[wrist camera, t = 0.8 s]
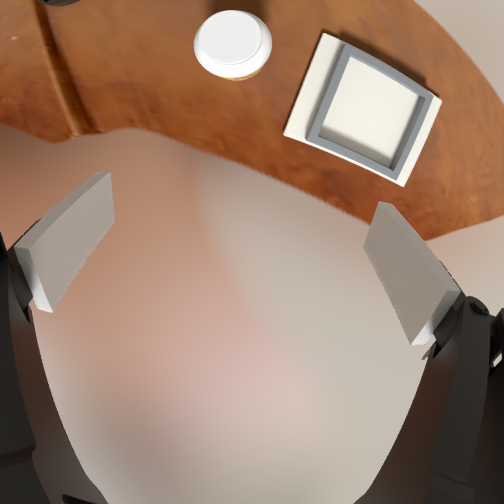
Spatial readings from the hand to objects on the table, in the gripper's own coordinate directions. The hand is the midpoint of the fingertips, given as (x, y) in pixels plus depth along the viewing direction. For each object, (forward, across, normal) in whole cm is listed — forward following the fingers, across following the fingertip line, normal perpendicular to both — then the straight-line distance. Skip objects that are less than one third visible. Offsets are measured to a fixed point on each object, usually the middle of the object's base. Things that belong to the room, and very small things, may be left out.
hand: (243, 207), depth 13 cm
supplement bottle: (+23, -2, +9) cm, 25 cm away
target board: (+23, +14, +5) cm, 27 cm away
